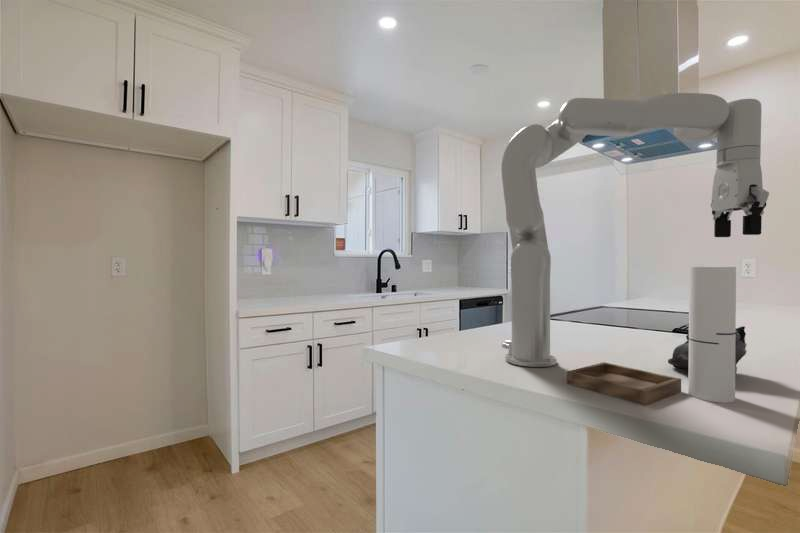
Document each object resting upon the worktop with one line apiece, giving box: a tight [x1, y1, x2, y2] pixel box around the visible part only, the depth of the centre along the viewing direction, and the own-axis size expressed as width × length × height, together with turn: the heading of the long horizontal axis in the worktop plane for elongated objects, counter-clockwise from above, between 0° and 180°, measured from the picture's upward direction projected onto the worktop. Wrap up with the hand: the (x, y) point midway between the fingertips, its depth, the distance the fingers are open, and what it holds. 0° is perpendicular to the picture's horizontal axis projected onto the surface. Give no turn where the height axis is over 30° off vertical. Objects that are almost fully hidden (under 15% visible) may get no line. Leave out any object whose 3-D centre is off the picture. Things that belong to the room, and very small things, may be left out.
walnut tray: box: [566, 361, 682, 406], centre depth 84 cm, size 16×14×2 cm
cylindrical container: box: [687, 265, 737, 404], centre depth 78 cm, size 7×7×25 cm
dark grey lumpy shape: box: [667, 326, 747, 377], centre depth 93 cm, size 15×12×14 cm
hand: (736, 235), depth 91 cm, fingers open, 9 cm apart
